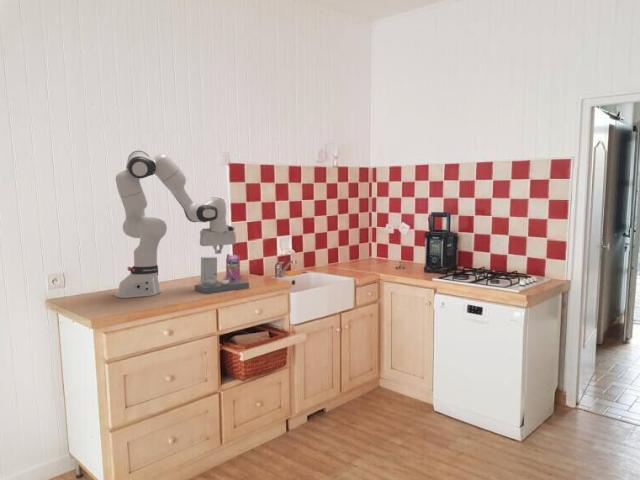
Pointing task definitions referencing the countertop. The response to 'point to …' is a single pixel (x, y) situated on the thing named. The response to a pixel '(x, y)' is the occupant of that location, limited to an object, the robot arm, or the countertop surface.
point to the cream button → (224, 282)
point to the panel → (221, 286)
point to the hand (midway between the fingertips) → (218, 253)
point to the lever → (230, 271)
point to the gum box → (233, 266)
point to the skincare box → (208, 269)
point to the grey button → (211, 282)
